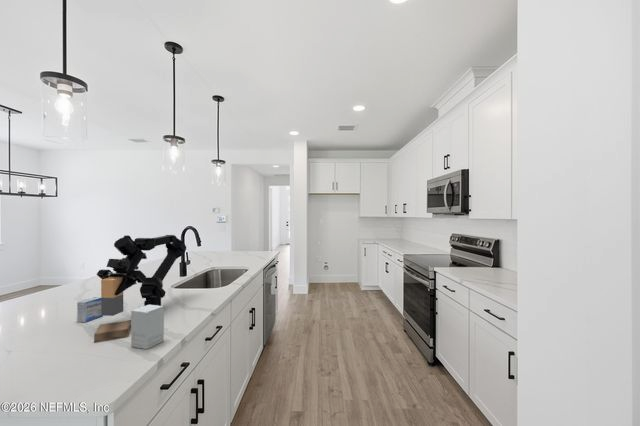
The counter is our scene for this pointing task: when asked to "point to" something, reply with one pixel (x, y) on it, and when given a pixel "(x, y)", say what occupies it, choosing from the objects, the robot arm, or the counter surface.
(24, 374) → the counter surface
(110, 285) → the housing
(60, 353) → the counter surface
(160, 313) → the supplement box
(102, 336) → the walnut stand
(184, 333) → the counter surface
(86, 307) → the medicine box
